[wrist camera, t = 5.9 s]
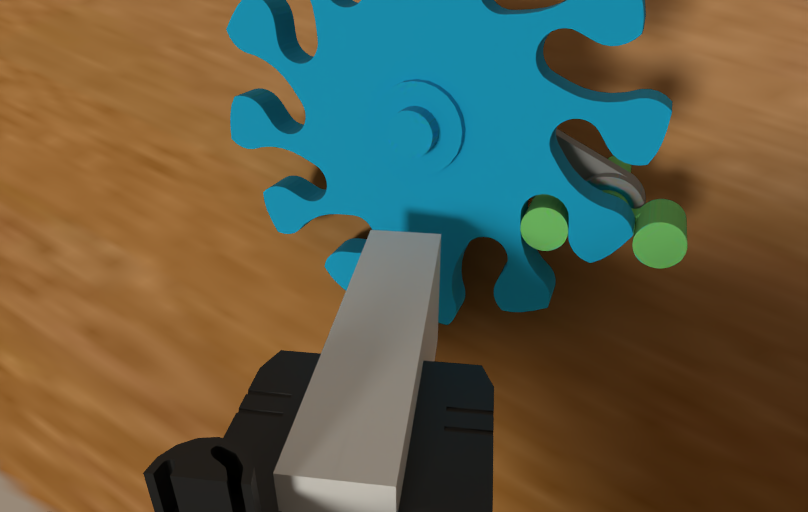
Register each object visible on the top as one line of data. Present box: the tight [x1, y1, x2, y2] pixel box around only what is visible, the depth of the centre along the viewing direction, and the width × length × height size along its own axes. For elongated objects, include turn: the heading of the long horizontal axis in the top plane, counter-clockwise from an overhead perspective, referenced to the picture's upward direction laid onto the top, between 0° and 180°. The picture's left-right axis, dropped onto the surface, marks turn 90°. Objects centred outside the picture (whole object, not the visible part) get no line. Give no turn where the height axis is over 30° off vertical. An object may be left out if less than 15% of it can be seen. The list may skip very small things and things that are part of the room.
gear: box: [226, 0, 687, 325], centre depth 15 cm, size 11×6×10 cm
